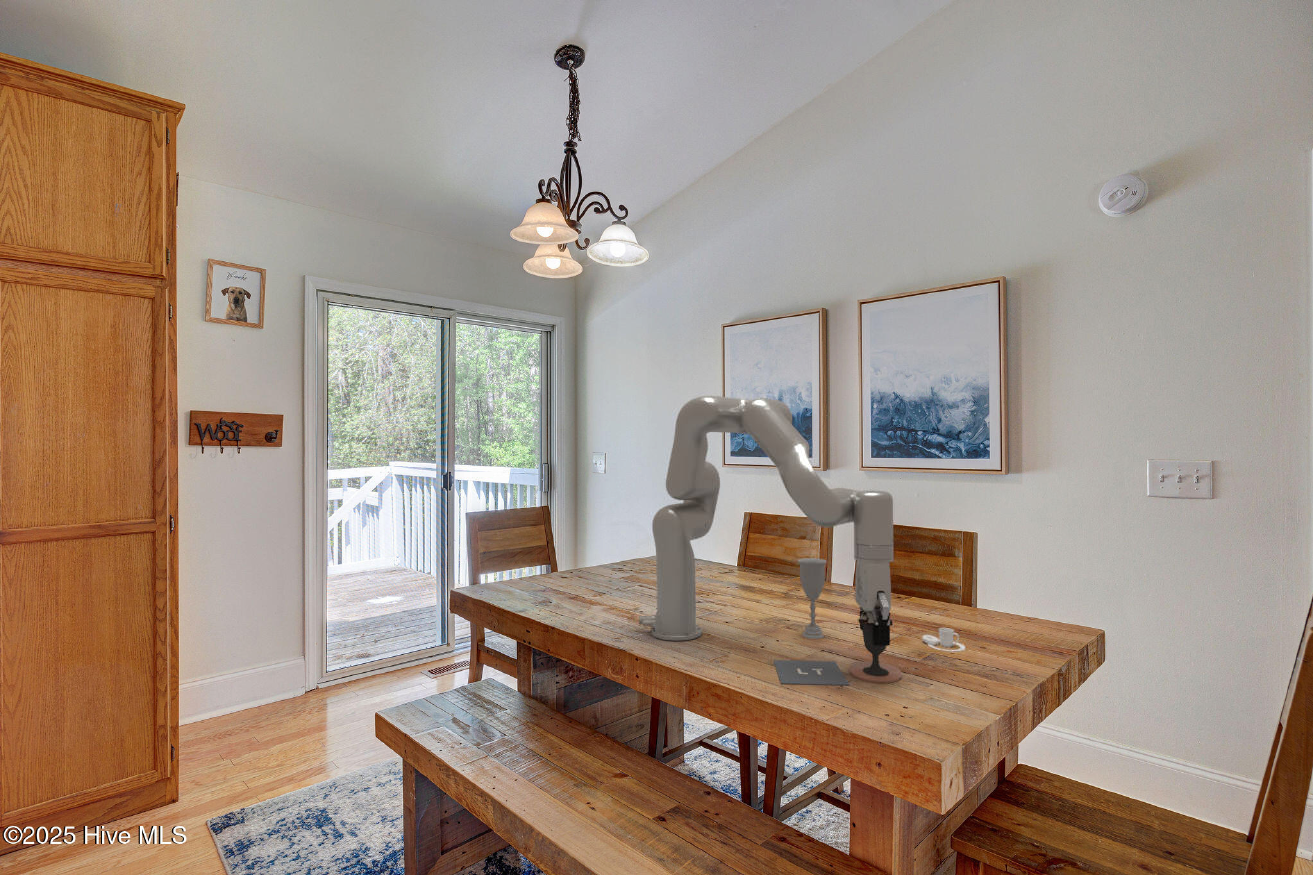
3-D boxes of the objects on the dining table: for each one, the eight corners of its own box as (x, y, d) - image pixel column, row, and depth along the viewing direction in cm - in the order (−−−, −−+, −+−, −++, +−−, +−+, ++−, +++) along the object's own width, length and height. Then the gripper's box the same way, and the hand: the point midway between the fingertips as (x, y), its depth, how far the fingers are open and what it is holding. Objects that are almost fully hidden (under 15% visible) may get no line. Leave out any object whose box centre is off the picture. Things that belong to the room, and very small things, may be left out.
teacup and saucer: (916, 643, 148) (916, 626, 148) (942, 639, 151) (942, 622, 151) (947, 655, 140) (947, 636, 140) (973, 650, 143) (973, 632, 143)
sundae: (852, 666, 129) (851, 592, 130) (884, 665, 130) (883, 592, 130) (865, 677, 123) (864, 599, 123) (899, 676, 123) (898, 599, 124)
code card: (780, 684, 123) (780, 682, 123) (773, 660, 135) (773, 659, 135) (849, 685, 122) (849, 684, 122) (835, 662, 135) (835, 660, 135)
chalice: (828, 640, 149) (827, 564, 149) (798, 639, 150) (798, 563, 150) (826, 631, 156) (825, 558, 156) (798, 630, 157) (797, 557, 158)
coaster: (855, 682, 123) (855, 678, 123) (844, 664, 133) (844, 660, 133) (908, 683, 122) (908, 679, 122) (892, 665, 132) (892, 661, 132)
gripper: (845, 545, 137) (845, 624, 137) (865, 560, 119) (866, 651, 119) (880, 545, 136) (881, 625, 136) (906, 560, 119) (907, 651, 119)
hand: (874, 637), depth 128 cm, fingers open, 9 cm apart
